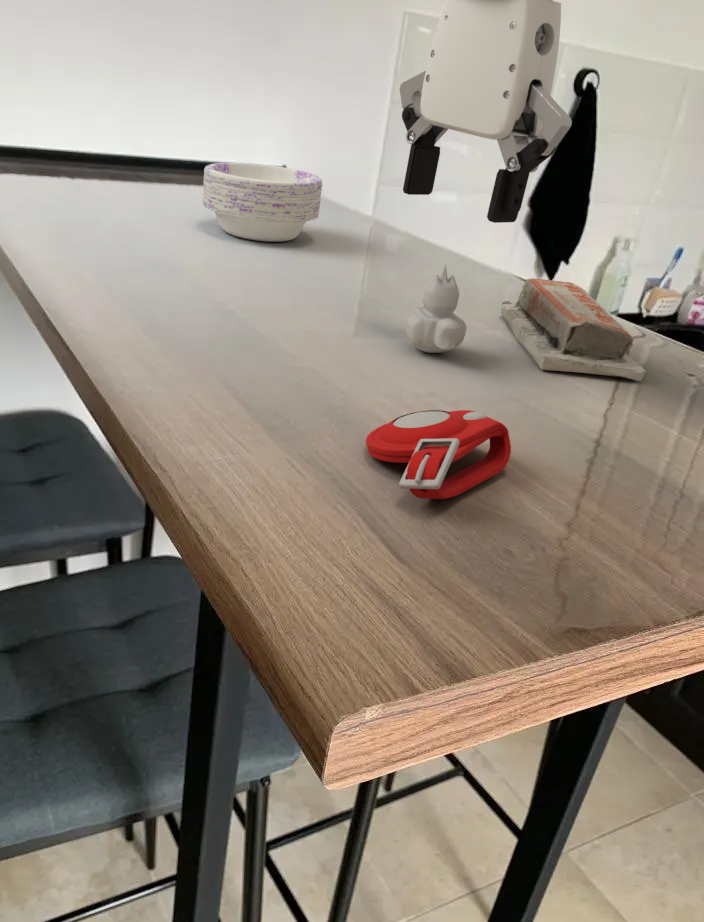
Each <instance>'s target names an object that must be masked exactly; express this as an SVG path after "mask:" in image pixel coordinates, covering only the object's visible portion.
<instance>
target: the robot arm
mask: <svg viewBox="0 0 704 922" xmlns="http://www.w3.org/2000/svg"><path fill="white" fill-rule="evenodd" d="M561 23H562V3H561V2H559V1H554V0H445V1H444V4H443V7H442V10H441V13H440V16H439V19H438V22H437V26H436V29H435V33H434V35H433V40H432V43H431V47H430V50H429V51H430V52H429V55H428V60H427V63H426V68H425V70H424V71H422V72H420V73H418V74H416V75H415V76H412V77H411V78H409V79H407V80H405V81H403V82H401V83H400V86H399V94H400V100H401V101H400V102H401V109H402V112H401V119H402V122H403V124H404V127H405V130H406V136H405V139H406V142H407V144H410V149H409V154H408V158H407V159H408V160H407V165H406V172H405V177H404V181H403V187H402V192H403V193H404V194H406V195H408V196H413V195H414V196H415V195H416V196H429V195H430V194H432V193H433V192H434V191H433V190H434V186H435V180H436V174H437V171H438V165H439V161H440V155H441V146H438V145H436V144H437V143H438V141H439V140H440V139H441V138H442V137H443V136H444V135H445V134H446V133H447V132H448V130H450V131H456V132H459V133H464V134H468V135H472V136H476V137H480V138H483V139H488V140H496V141H497V145H498V147H499V150H500V154H501V157H502V160H503V162H504V166H505V168H498V171H497V173H496V176H495V180H494V184H493V189H492V193H491V197H490V202H489V206H488V210H487V215H486V218H487V220H488V221H489V222H490V223H495V224H497V223H501V224H502V223H515V222H516V221H517V218H518V216H519V212H520V210H521V208H522V205H523V201H524V197H525V193H526V188H527V185H528V181H529V178H530V173H535V172H536V171H537V170H538V169H539V166H540V165H541V164H543V162H545V161H546V160H547V159H549V158H550V157H551V156H553V154H554V153H555V151H556V147H557V146H558V145H559V144H560V143H561V141H562V140H563V138H564V137H565V136H566V134H567V133H568V132H569V130H570V129H571V127H572V123H573V120H572V118H571V116H570V115H568V113H567V112H566V111H565V110H564V109H563V108H562V107H561V106H560V105H559V104H558V102H557V101H556V100H555V99H554V98H553V97H552V96H551V95H552V90H553V87H554V86H553V85H554V80H555V73H556V68H557V62H558V54H559V46H560V37H561V25H562V24H561Z"/></svg>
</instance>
